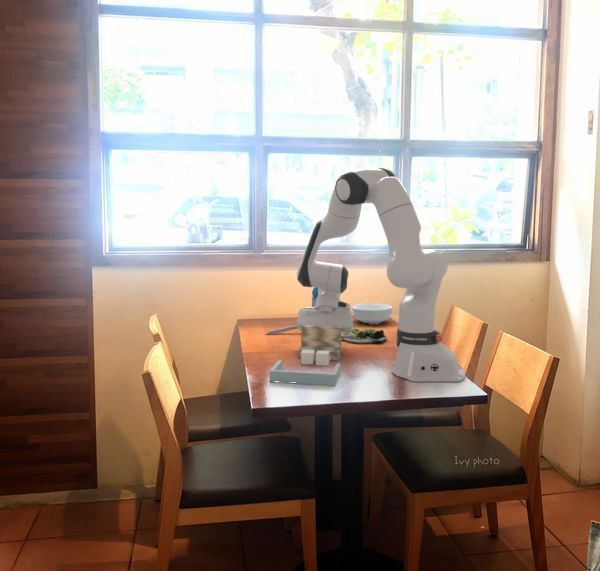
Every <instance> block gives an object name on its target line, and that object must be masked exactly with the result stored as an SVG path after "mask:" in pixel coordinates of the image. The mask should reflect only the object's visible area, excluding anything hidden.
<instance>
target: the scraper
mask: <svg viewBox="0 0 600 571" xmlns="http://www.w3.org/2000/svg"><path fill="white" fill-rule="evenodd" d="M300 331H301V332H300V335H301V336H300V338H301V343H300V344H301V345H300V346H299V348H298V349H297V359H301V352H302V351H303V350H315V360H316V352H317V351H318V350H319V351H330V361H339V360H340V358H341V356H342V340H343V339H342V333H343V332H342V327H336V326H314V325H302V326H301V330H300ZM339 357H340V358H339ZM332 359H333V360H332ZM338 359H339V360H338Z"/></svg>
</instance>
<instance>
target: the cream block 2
mask: <svg viewBox="0 0 600 571" xmlns="http://www.w3.org/2000/svg"><path fill="white" fill-rule="evenodd" d="M330 361H331V360H330V351H319V350H318V351H317V352H316V359H315V365H316V366H325V365H329V364H330Z"/></svg>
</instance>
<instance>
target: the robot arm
mask: <svg viewBox="0 0 600 571" xmlns="http://www.w3.org/2000/svg"><path fill="white" fill-rule="evenodd" d="M364 204H373V205H374V207H375V209H376V212H377V215H378V217H379V221H380V223H381V225H382V228H383V231H384V234H385V237H386V240H387V245H388V254H389V260H388V264H387V266H386V275H387V279H388V281H389V282H390V283H391V284H392V285H393V286H394V287H395V288H396V287H397V288H401V289H405V293H404V295H403V297H402V299H400V300H401V301H400V303H399V305H398V328H397V329H396V337H395V338H396V348H397V349H396V355H395V360H394V365H393V368H392V370H391V371H392V372H391V373H392V374H394V375H395V376H397V377H399V378H402V379H406V380H408V381H410V382H415V383H416V382H420V383H421V382H427V383H429V382H431V383H432V382H433V383H435V382H439V383H440V382H444V383H445V382H447V383H448V382H449V383H452V382H453V383H455V382H462V381H464V380H465V379H466V372H465V370H464V369H463V368H461V367H460V366H459V363H458V358H457V355H456V354H455V353H454V352H453V351H452V350H451V349H449V348H448V347H447V346H446V345H445V344H443V343H442V342H441V341H443V335H442V333H441V332H440V331H439V330H436V329H435V318H436V317H435V316H436V305H437V299H438V297H439V292H440V290H441V289H440V288H441V285H442V282H443V278H444V277H445V275H446V274H447V272H448V267H449V264H448V260H447V258H446V256H445V255H444V254H443V253H442V252H440V251H438V250H435V249H429V248H425V249H422V247H421V242H420V233H421V230H422V226H421V222H420V219H419V218H418V215H417V213H416V210H415V207H414V205H413V202H412V201H411V198H410V196H409V193H408V192H407V190H406V188H405V187H404V185H403V183H402V182H401V181H400V178H397V177H396V174H395V172H394V171H393V170H391V169H389V168H385V167H376V168H361V169H358V170H353V171H347V172H344V173H342V174H340V175H339V176H338V178H337V179H336V180H335V185H334V187H333V191H332V194H331V196H330V201H329V204H328V210H327V213H326V215H325V216H324V218H323V219H322V220H321V219H320V220H318V221H317V222H316V224H315V225H314V228H313V230H312V234H311V235H310V237H309V241H308V245H307V247H306V249H305V252H304V255H303V257H302V260H301V262H300V264H299V265H298V268H297V271H296V273H297V274H296V280H297V282H298V283H299V284H300V285H301V286H302V287H305V288H314V287H316V288H318V297H317V300H316V307H312V306H311V307H309V306H308V307H307V306H303V307H301V308H300V309H299V310H298V318H297V322H296V325H297V327H298V329H297V330H298V331H301V326H302V325H314V326H336V327H342V333H343V332H351V331H352V330H353V329H354V320H353V313H352V308H351V304H350V303H348V302H345V301H342V300H341V299H340V298H341V295H342V294H343V293H344V292H345V291H346V290H347V288H348V278H349V271H348V269H347V267H345V265H343V264H341V263H333V262H326V261H318V260H316V257H317V254H318V251H319V248H320V246H321V245H322V244H323V242H325V241H329V240H331V239H332V240H333V239H337V238H343V237H345V236H348V235H350V234H352V233H353V232H354V231H355V230H356V229H357V227H358V224H359V220H360V216H361V211H362V205H364Z"/></svg>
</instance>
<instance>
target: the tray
mask: <svg viewBox="0 0 600 571" xmlns="http://www.w3.org/2000/svg"><path fill="white" fill-rule="evenodd" d="M340 376H341V363H336V365H335V366H334V368H333V370H332V371H331V373H330V372H313V371H312V372H311V371H297V370H296V371H295V370H283V360H279V359H278V360H277V362H276V363H275V364H274V365H273V366H272V368H271V369H269V382H270V381H279V382H296V383H306V384H305V385H309V384H315V385H314V386H325V385H327V386H326V387H335V386H336V385H337V383H338V381H339V379H338V378H340ZM337 380H338V381H337ZM336 382H337V383H336Z"/></svg>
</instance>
